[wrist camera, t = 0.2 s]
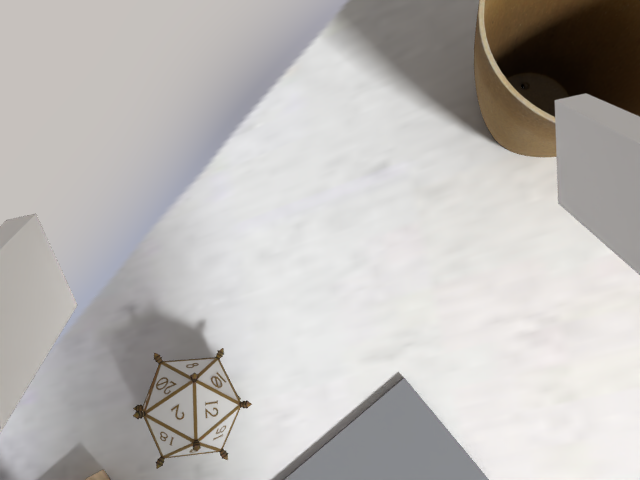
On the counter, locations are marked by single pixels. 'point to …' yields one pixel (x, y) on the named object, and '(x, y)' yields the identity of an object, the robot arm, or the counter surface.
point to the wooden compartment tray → (99, 476)
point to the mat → (392, 445)
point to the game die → (190, 407)
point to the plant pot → (552, 64)
